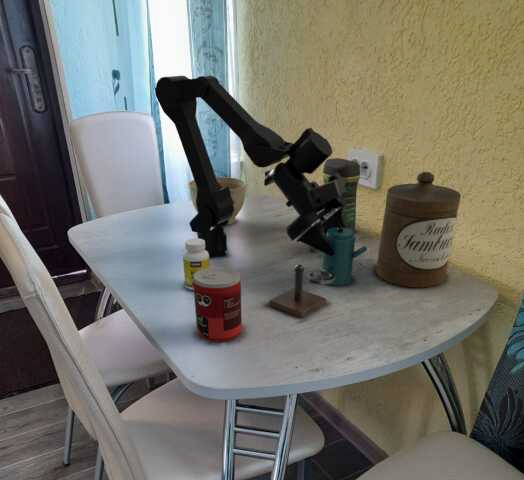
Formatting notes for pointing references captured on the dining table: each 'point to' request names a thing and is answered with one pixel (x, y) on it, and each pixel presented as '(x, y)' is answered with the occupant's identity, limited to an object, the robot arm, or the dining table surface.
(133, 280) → the dining table surface
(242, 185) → the planter bowl
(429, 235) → the wooden container
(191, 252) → the supplement bottle
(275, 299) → the wooden peg stand
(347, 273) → the kettle
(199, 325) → the canned food
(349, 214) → the coffee jar
